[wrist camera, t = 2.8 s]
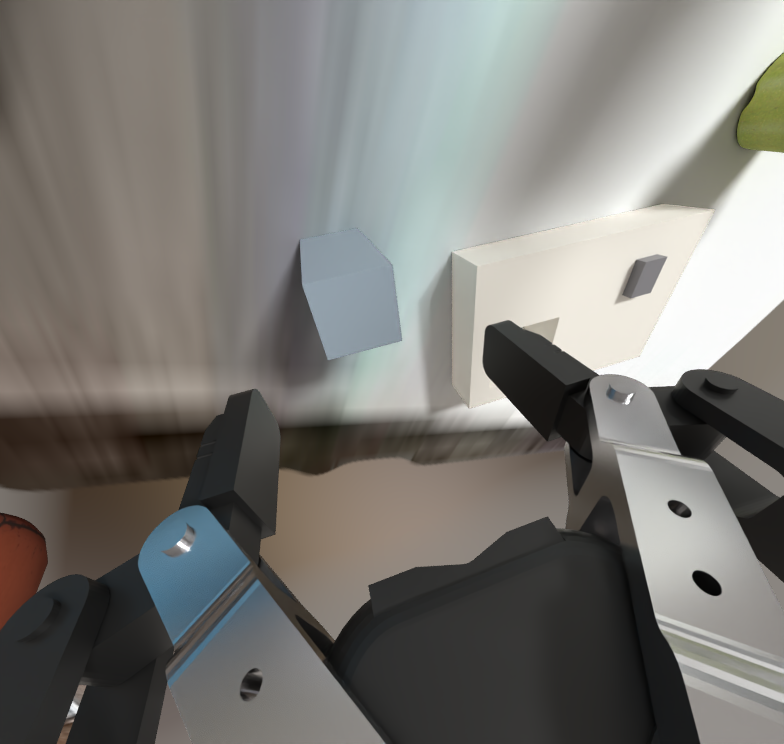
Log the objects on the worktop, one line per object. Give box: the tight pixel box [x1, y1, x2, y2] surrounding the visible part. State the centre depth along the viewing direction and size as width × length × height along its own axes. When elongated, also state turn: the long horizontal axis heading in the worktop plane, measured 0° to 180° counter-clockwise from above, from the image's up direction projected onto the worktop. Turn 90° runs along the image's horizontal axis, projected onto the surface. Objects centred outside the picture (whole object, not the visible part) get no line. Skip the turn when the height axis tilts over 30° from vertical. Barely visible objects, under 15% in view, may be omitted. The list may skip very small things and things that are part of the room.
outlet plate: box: [452, 204, 715, 409], centre depth 26 cm, size 14×20×5 cm
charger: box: [300, 228, 402, 360], centre depth 17 cm, size 4×4×9 cm
